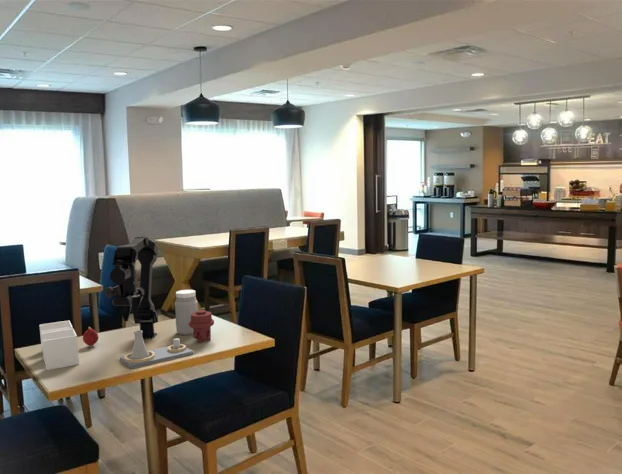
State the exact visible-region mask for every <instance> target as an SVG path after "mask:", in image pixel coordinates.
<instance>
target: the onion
mask: <svg viewBox="0 0 622 474" xmlns="http://www.w3.org/2000/svg"><path fill="white" fill-rule="evenodd" d="M98 340H99V334H98V332H97V331H96V330H95V329H93V328H92V327H90V326H88V328H87V330H86V331H84V333H83V335H82V341H83V342H84V344H85V345H86V346H88V347H93V346H94V345H95V344H97V342H98Z"/></svg>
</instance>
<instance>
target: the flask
mask: <svg viewBox="0 0 622 474" xmlns="http://www.w3.org/2000/svg"><path fill="white" fill-rule="evenodd" d="M142 333H143V331H142V330H140V329H139V330H135V331H133V334H134V342H133V346H132V350H131V352H132V353H131V352H130V353H131V356H130V359H143V358H147V357H150V354H149V352H148V351H149V350H148V348H147V346H146V344H145V342H144V339H143V337H142Z"/></svg>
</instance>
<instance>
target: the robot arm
mask: <svg viewBox="0 0 622 474" xmlns="http://www.w3.org/2000/svg"><path fill="white" fill-rule="evenodd" d="M158 254H159V248H158V246H157V244H156V243H155V241H152V240H150V239H149V237H148V236H135V237H134V239H133V240H131V241H130V242H129V243H128V244H125V245H118V246H117V247H116V248H115V250H114V255H113V258H112V259H113V260H112V265H111V266H114V268H113V269H112V270H111V271H110V274H109V278H110V280H111V282H112V283H114V284H117V285H116V286H113V287H112V286H109V287H106V288H105V291H104V295H105V296H106V297H107V299H111V298H112V297H114V296H115V297H114V298H113V299H112V305H113V306H114V307H117V308H118V309H119V310H120V312H121V315H122V317H123V320H124V322H128V321H129V318H130V315H131V311H132V316H133V321H134V324H136V325H139V330H142V331H143V333H142V337H143V340H144V339H154V338H155V337H156V336H157V335H158V333H157V332H155V324H156V323H159V315H158V313H157V311H156V309H155V304H154V303H153V301H152V282H153V266H154V264H155V262H156V261H157V260H158V259H157V258H158V256H159V255H158ZM137 260H138V262H139V263H140V279H139V287H137V283H138V279H136V262H137Z"/></svg>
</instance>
